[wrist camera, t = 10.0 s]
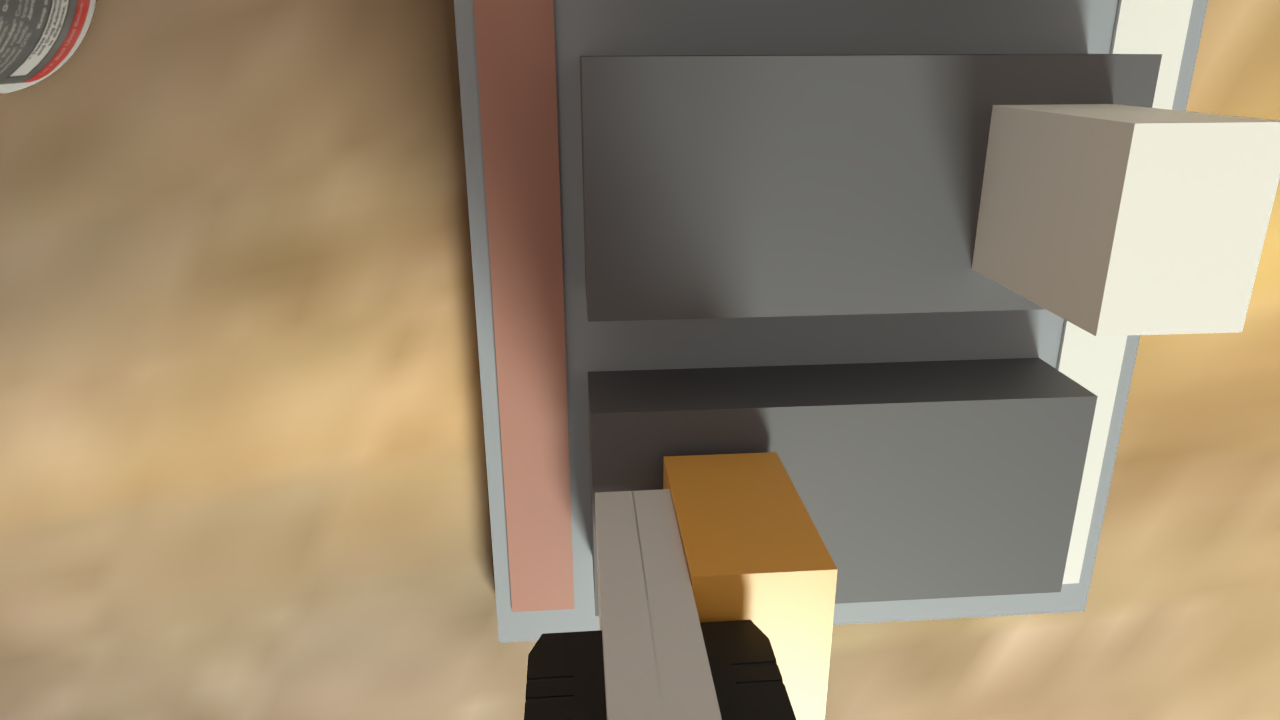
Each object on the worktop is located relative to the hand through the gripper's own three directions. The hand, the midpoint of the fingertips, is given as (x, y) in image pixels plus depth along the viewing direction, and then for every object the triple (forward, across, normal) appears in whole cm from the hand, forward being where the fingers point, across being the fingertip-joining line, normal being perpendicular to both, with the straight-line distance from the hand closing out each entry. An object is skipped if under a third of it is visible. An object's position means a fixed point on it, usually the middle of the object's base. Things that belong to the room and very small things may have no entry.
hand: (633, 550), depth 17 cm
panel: (+6, +5, +7) cm, 10 cm away
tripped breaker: (+1, +2, 0) cm, 2 cm away
